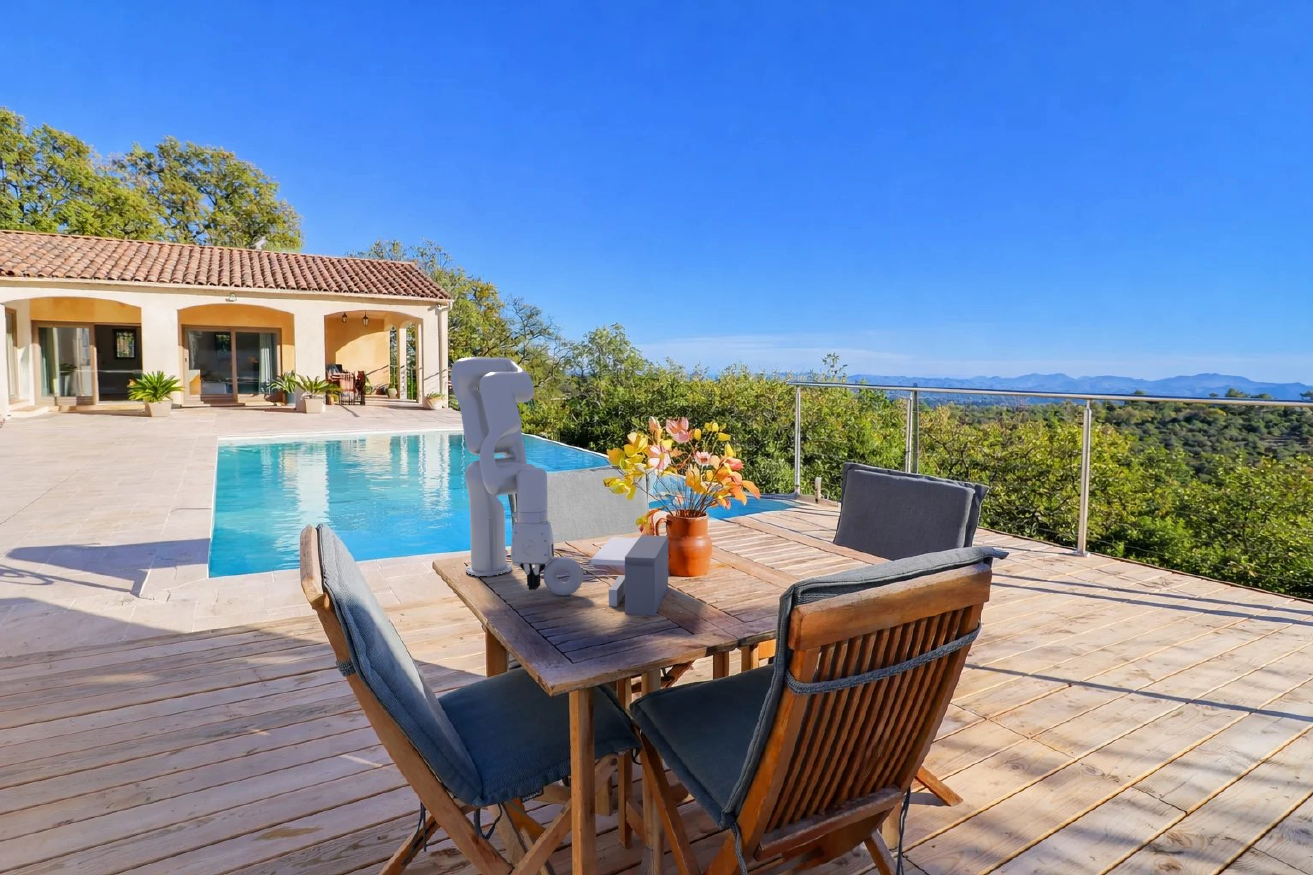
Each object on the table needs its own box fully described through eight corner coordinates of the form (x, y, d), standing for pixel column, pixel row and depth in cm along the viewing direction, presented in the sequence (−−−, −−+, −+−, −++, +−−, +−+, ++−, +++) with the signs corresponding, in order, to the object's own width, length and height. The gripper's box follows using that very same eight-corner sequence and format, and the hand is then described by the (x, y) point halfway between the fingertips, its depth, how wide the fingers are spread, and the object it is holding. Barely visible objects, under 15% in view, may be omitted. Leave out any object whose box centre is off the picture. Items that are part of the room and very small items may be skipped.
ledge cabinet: (611, 584, 186) (611, 534, 185) (668, 586, 184) (668, 536, 183) (591, 612, 165) (590, 555, 163) (654, 615, 162) (654, 558, 161)
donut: (542, 597, 175) (541, 558, 175) (545, 593, 179) (544, 554, 178) (582, 597, 175) (582, 558, 174) (584, 593, 179) (584, 554, 178)
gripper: (498, 519, 174) (500, 592, 175) (556, 521, 171) (557, 594, 173) (509, 513, 181) (511, 583, 183) (565, 515, 179) (566, 585, 180)
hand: (533, 588), depth 178 cm, fingers closed
